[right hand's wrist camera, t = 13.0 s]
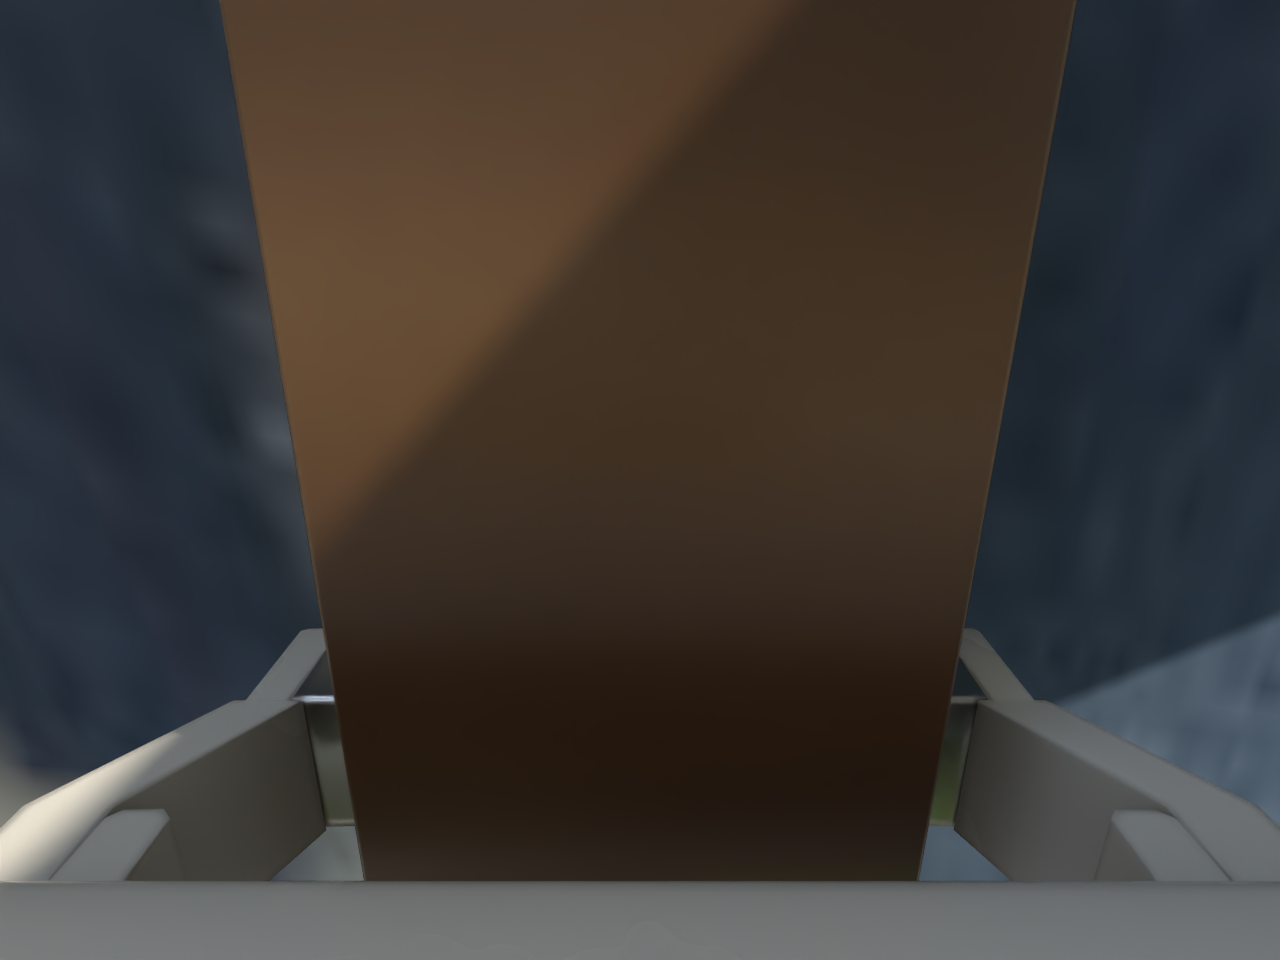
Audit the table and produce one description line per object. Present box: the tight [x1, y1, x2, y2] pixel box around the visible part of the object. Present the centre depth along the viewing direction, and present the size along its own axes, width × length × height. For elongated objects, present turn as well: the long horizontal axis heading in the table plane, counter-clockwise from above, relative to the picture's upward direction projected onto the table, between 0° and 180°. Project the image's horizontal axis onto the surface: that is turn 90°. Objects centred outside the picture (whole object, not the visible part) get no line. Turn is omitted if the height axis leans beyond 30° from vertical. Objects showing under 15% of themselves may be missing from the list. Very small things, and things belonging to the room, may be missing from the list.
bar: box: [219, 0, 1077, 881], centre depth 9 cm, size 22×5×9 cm, turn 0°
